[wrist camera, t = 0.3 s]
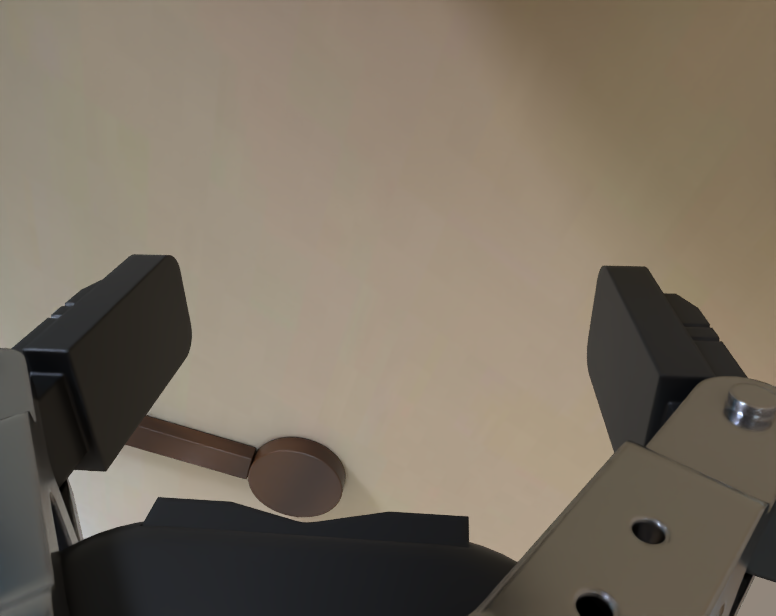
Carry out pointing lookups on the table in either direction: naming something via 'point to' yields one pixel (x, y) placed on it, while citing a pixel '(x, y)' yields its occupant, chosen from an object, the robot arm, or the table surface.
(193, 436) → the wooden spoon
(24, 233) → the table surface
